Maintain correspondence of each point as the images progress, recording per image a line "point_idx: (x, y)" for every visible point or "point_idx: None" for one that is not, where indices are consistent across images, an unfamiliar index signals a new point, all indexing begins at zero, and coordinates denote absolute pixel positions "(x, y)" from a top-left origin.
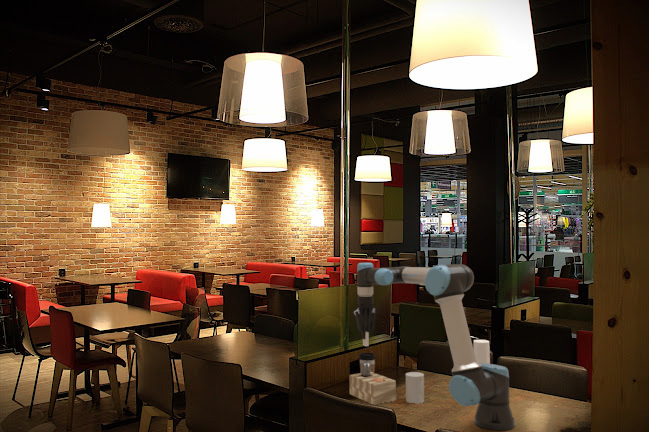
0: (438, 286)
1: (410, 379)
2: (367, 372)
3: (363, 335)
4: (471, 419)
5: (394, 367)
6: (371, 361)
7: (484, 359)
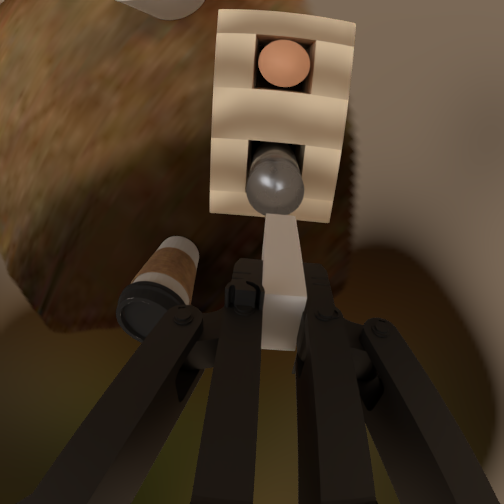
0: None
1: None
2: (283, 152)
3: (327, 288)
4: None
5: (47, 315)
6: (151, 280)
7: None
